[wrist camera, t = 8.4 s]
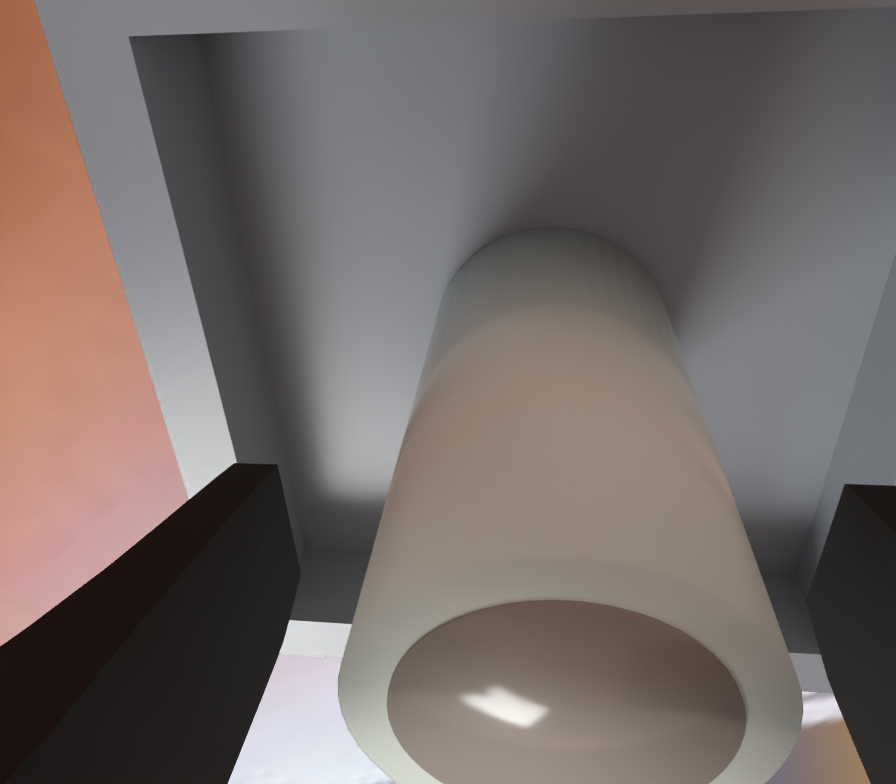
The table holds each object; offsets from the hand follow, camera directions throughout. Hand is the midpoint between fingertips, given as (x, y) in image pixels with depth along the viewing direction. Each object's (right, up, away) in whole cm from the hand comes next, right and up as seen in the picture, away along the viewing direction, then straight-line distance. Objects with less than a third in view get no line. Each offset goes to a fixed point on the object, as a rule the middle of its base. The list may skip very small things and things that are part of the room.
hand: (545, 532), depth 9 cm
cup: (+1, +3, +4) cm, 5 cm away
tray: (+1, +3, +5) cm, 6 cm away
